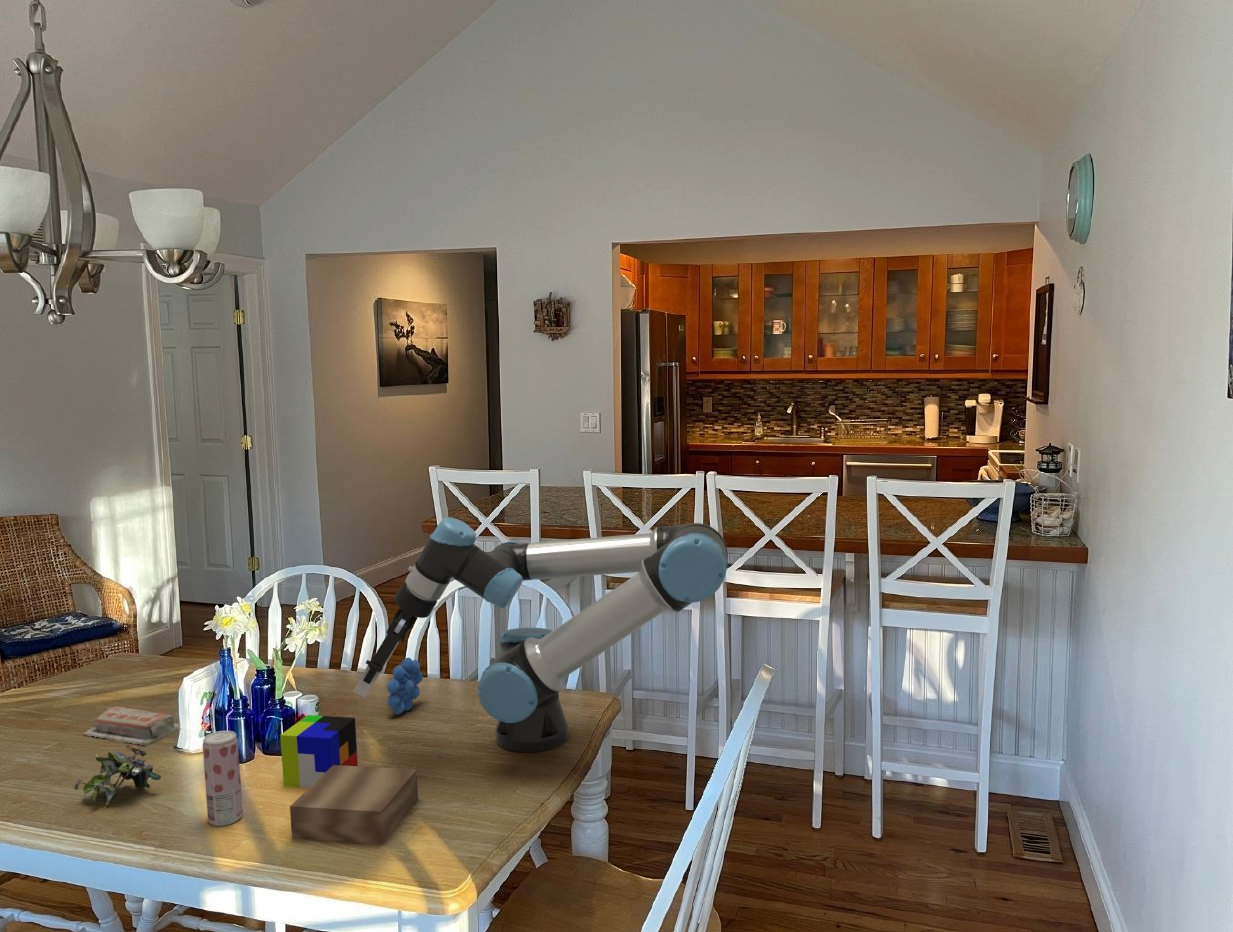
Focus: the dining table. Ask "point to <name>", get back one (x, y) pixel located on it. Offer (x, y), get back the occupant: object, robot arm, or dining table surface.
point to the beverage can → (222, 778)
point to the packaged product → (133, 725)
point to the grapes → (404, 685)
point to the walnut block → (354, 804)
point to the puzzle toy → (317, 748)
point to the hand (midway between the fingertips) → (368, 678)
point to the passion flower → (120, 765)
